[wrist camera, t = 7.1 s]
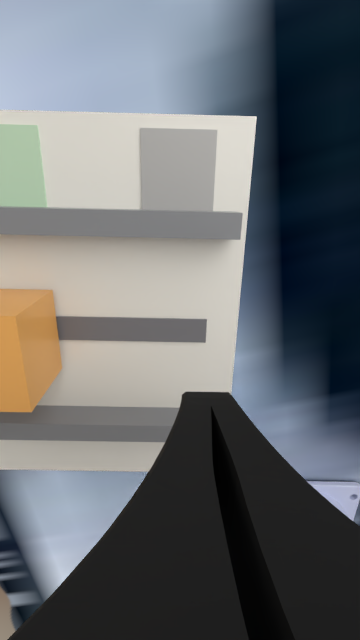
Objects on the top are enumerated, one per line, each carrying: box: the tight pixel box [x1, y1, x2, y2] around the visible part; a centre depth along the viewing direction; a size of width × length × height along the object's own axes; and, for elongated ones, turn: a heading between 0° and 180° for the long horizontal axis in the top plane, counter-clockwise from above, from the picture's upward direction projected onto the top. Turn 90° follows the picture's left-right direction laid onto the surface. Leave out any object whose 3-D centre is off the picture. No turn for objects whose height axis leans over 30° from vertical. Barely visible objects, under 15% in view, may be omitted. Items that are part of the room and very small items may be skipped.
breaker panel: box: [0, 110, 257, 472], centre depth 16 cm, size 18×14×4 cm
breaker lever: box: [0, 289, 62, 412], centre depth 13 cm, size 4×3×4 cm
